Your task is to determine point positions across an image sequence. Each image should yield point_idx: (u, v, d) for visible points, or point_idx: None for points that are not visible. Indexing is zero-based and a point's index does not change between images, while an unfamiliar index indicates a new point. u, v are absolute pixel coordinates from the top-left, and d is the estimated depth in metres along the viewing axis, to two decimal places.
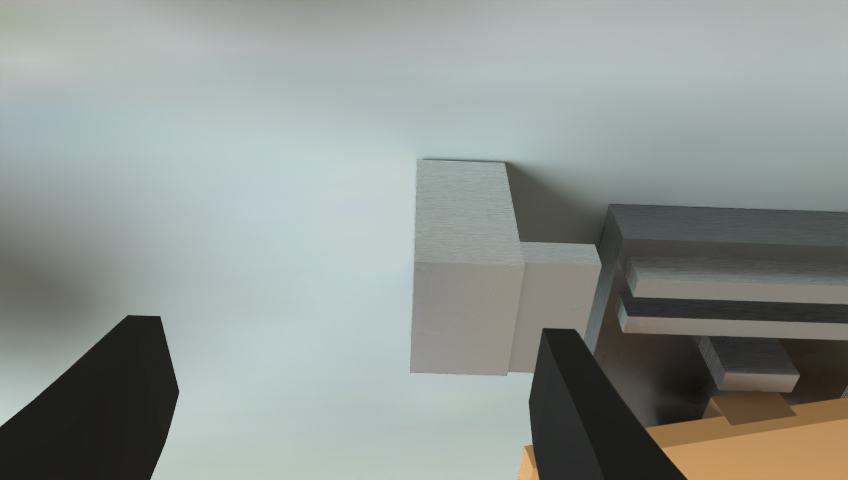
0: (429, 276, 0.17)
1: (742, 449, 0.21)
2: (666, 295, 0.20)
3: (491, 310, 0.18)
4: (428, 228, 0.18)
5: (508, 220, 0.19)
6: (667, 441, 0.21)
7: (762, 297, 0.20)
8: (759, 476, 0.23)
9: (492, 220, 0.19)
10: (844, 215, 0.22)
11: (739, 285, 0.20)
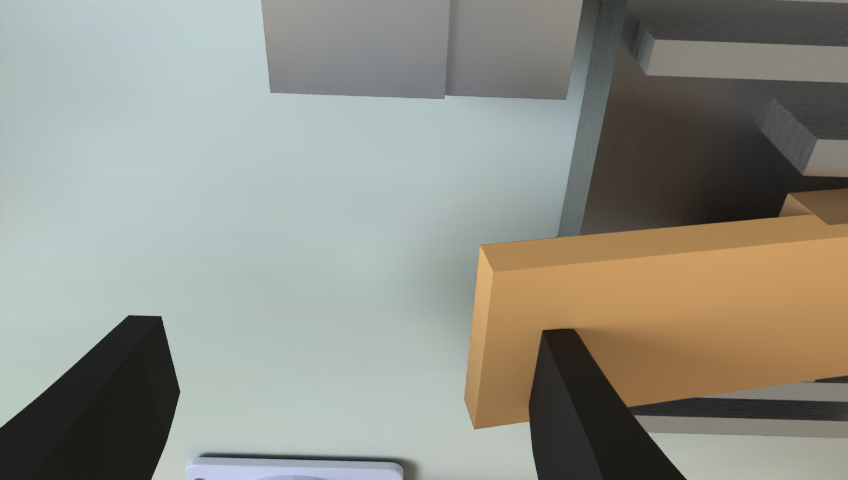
0: None
1: (845, 267, 0.13)
2: None
3: None
4: None
5: None
6: (724, 242, 0.12)
7: None
8: None
9: None
10: None
11: None
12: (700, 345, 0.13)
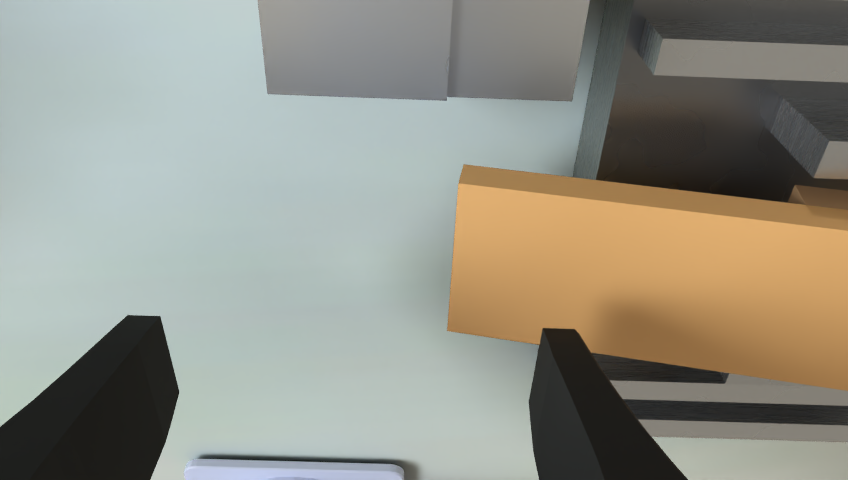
0: None
1: (825, 262, 0.13)
2: None
3: None
4: None
5: None
6: (687, 206, 0.13)
7: None
8: None
9: None
10: None
11: None
12: (664, 307, 0.14)
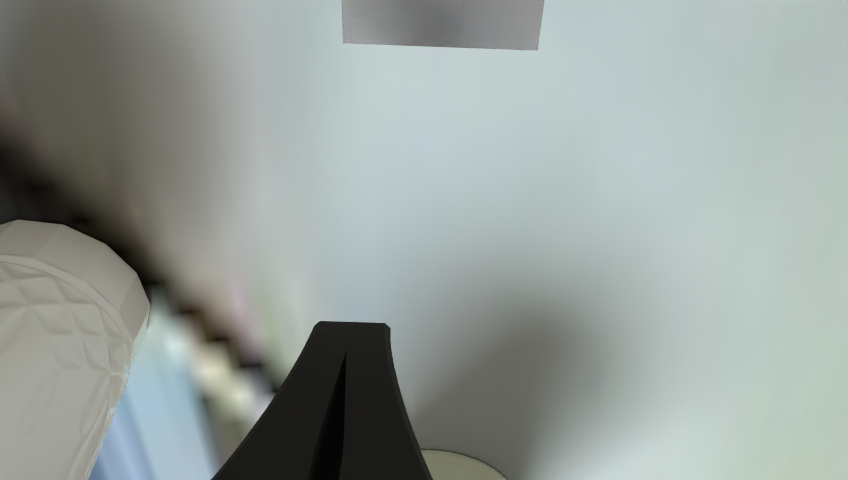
0: (366, 23, 0.13)
1: None
2: None
3: None
4: None
5: None
6: None
7: None
8: None
9: None
10: None
11: None
12: None
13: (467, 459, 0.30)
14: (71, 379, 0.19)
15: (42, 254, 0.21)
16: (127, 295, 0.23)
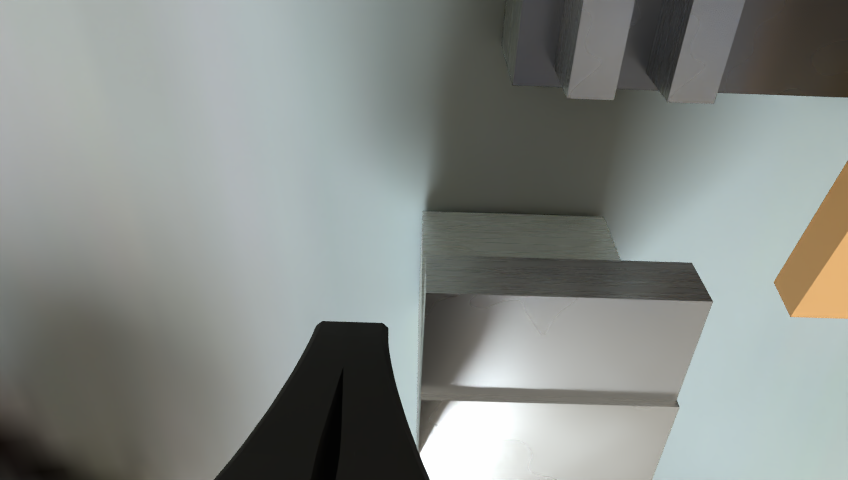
0: None
1: None
2: (620, 32, 0.09)
3: (515, 432, 0.11)
4: None
5: (421, 321, 0.12)
6: None
7: None
8: None
9: (420, 340, 0.12)
10: None
11: None
12: None
13: None
14: None
15: None
16: None
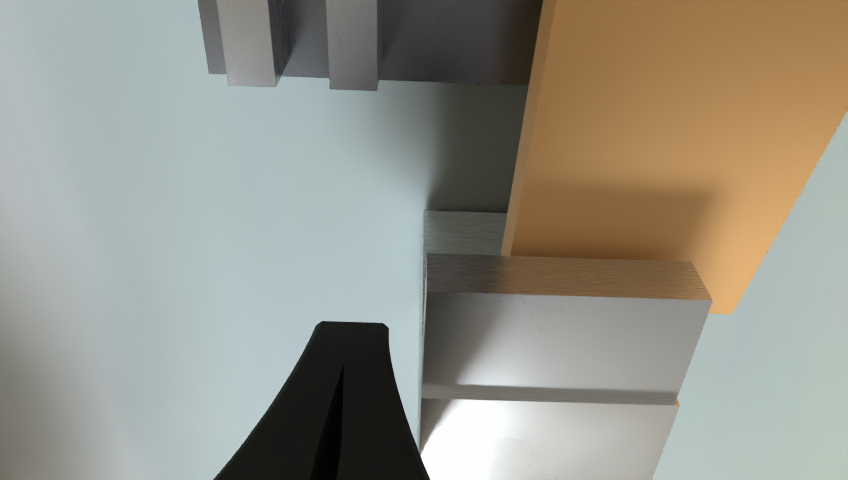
0: None
1: None
2: (261, 18, 0.09)
3: (516, 430, 0.11)
4: None
5: None
6: (540, 70, 0.08)
7: None
8: None
9: (421, 338, 0.12)
10: None
11: None
12: (736, 77, 0.08)
13: None
14: None
15: None
16: None
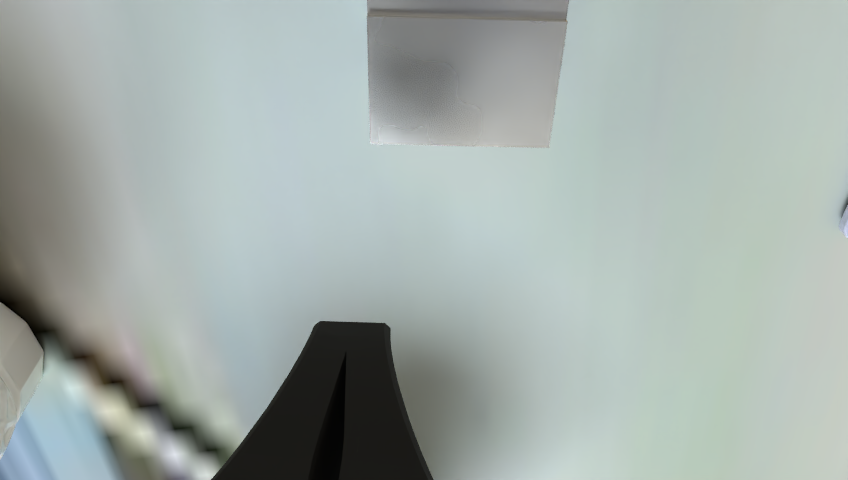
0: (391, 127, 0.15)
1: None
2: None
3: (443, 52, 0.14)
4: None
5: None
6: None
7: None
8: None
9: None
10: None
11: None
12: None
13: None
14: None
15: None
16: (13, 345, 0.24)
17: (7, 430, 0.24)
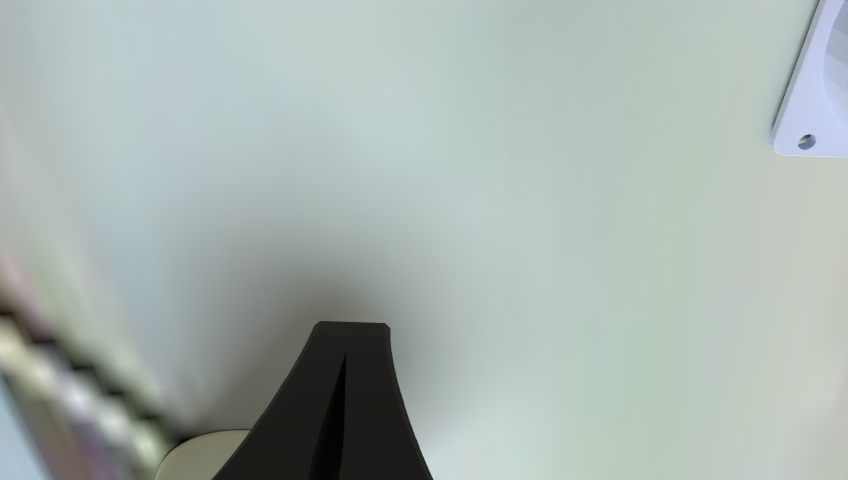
0: None
1: None
2: None
3: None
4: None
5: None
6: None
7: None
8: None
9: None
10: None
11: None
12: None
13: None
14: None
15: None
16: None
17: None
